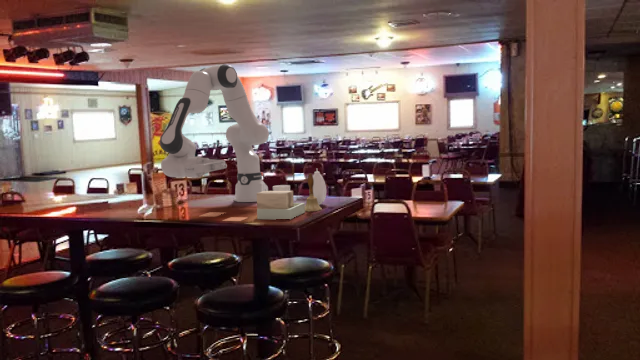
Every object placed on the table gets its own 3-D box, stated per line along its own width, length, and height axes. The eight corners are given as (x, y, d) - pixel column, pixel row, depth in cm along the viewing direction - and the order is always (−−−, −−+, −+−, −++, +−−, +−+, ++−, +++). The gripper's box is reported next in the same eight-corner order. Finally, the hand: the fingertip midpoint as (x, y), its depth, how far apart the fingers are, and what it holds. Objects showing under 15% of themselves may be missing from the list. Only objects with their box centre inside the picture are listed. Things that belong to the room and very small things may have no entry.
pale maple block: (265, 214, 235) (264, 190, 234) (294, 214, 231) (293, 190, 230) (257, 217, 227) (256, 193, 226) (287, 217, 223) (286, 193, 222)
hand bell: (309, 212, 235) (308, 174, 234) (299, 210, 242) (297, 173, 240) (325, 209, 240) (324, 173, 239) (314, 207, 247) (313, 172, 245)
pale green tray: (274, 212, 239) (273, 202, 239) (304, 212, 235) (304, 203, 234) (257, 219, 222) (256, 209, 222) (289, 219, 218) (289, 209, 217)
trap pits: (210, 212, 244) (210, 212, 244) (260, 213, 237) (260, 212, 237) (186, 220, 226) (186, 219, 226) (240, 221, 218) (240, 220, 218)
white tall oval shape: (325, 205, 251) (323, 166, 250) (308, 206, 253) (306, 166, 251) (328, 203, 259) (326, 165, 257) (311, 203, 261) (310, 165, 259)
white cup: (274, 209, 246) (273, 187, 245) (272, 207, 254) (271, 185, 253) (292, 208, 248) (291, 186, 247) (289, 206, 255) (288, 184, 254)
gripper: (182, 161, 228) (212, 160, 224) (207, 157, 247) (235, 156, 243) (184, 176, 229) (213, 176, 224) (208, 171, 248) (236, 171, 244)
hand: (225, 166), depth 234 cm, fingers closed
